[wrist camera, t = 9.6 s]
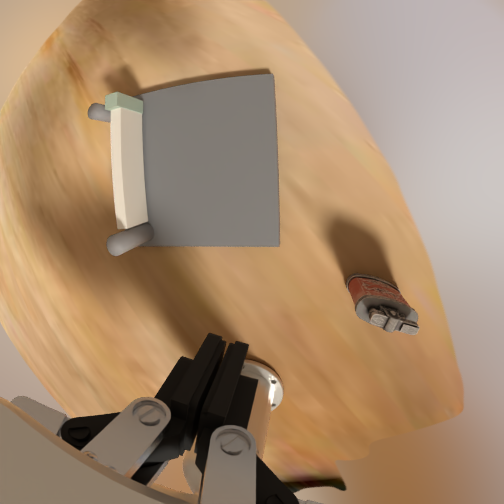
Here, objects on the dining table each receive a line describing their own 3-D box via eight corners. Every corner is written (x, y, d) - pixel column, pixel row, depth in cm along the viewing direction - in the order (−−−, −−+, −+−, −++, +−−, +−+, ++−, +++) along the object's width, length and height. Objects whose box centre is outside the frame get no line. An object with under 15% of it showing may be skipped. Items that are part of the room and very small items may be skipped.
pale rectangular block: (149, 221, 35) (123, 230, 29) (137, 221, 35) (111, 231, 29) (143, 101, 30) (117, 91, 25) (131, 104, 31) (105, 95, 25)
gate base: (279, 243, 35) (273, 266, 26) (133, 243, 38) (95, 262, 30) (274, 77, 29) (265, 47, 21) (126, 102, 33) (86, 90, 24)
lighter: (341, 291, 35) (354, 331, 26) (351, 268, 34) (368, 302, 24) (392, 307, 34) (416, 347, 25) (402, 285, 33) (431, 321, 24)
